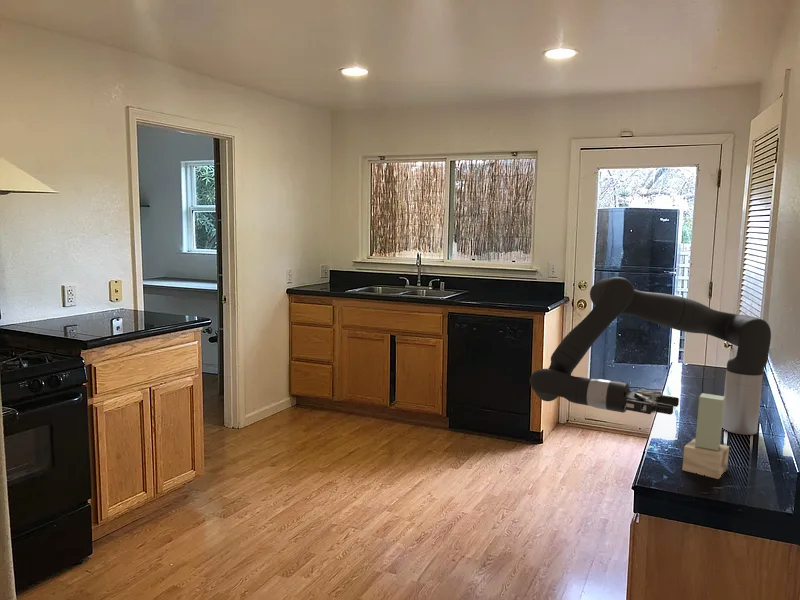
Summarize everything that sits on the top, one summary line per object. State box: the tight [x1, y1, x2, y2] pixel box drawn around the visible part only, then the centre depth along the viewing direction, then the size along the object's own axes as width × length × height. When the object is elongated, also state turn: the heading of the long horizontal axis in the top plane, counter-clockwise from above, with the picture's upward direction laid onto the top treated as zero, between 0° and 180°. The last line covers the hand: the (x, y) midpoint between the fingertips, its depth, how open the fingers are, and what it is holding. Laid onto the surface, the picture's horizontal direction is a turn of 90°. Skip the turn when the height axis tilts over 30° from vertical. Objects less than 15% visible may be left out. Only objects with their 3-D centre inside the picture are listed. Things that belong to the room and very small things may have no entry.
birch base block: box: [681, 438, 730, 480], centre depth 155 cm, size 8×8×6 cm
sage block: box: [694, 392, 725, 451], centre depth 154 cm, size 5×5×12 cm
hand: (675, 406), depth 158 cm, fingers open, 8 cm apart
